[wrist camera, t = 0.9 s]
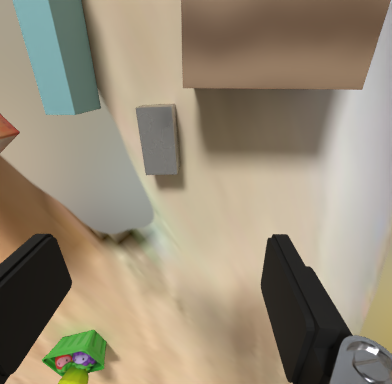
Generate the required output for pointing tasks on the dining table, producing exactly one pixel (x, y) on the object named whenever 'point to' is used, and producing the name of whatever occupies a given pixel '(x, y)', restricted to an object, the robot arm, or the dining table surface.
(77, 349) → the fruit basket
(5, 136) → the cracker box
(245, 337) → the dining table surface
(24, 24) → the block
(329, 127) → the dining table surface
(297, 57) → the board
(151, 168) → the bar
